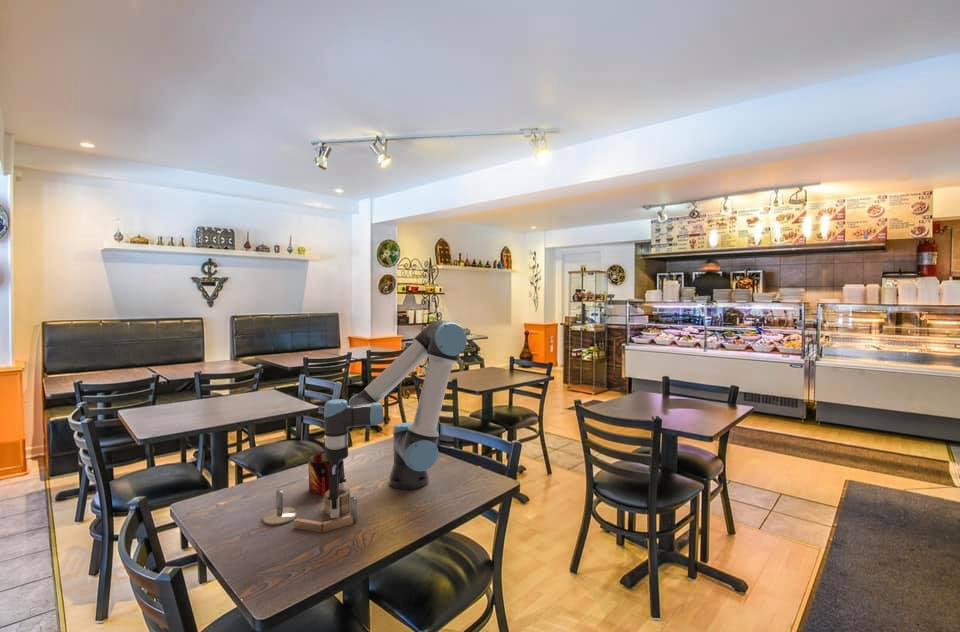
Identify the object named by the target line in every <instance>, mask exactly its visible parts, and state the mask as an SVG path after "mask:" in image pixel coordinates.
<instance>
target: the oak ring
mask: <svg viewBox="0 0 960 632" xmlns="http://www.w3.org/2000/svg"><path fill="white" fill-rule="evenodd" d="M338 496H339V516H341V515H344V514H346V513H349V512H351V504H350V498H351V490H350V489H349V488H347V487H344V488H339V492H338ZM328 497H329V490H328V491H327V492H326V493H325V497H324V513H325V514H326V515H328V516H330V500H328Z"/></svg>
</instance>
